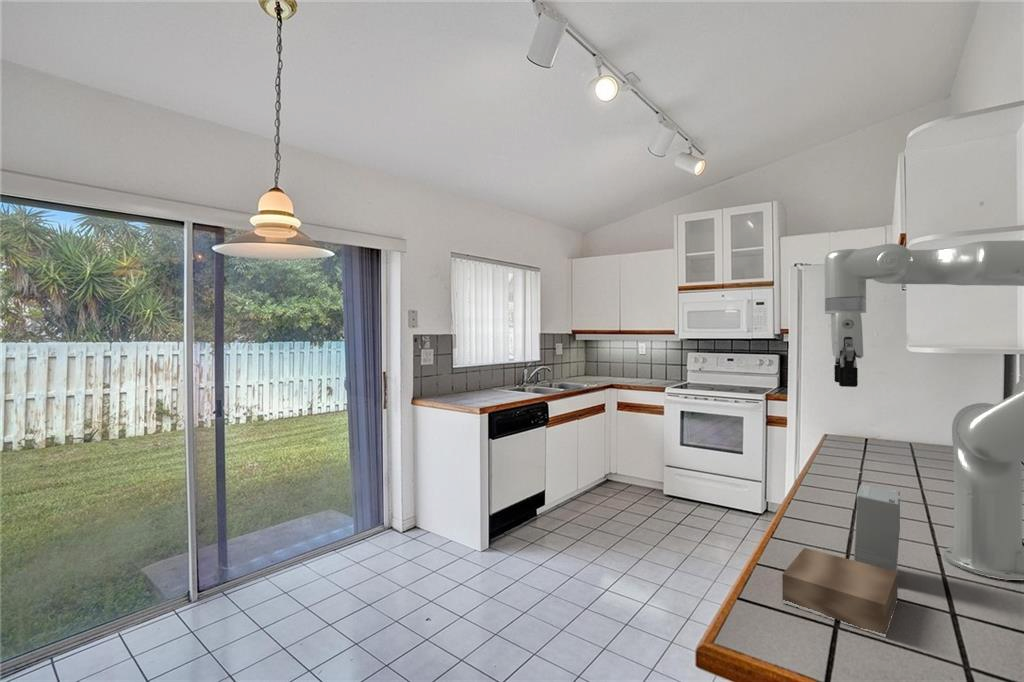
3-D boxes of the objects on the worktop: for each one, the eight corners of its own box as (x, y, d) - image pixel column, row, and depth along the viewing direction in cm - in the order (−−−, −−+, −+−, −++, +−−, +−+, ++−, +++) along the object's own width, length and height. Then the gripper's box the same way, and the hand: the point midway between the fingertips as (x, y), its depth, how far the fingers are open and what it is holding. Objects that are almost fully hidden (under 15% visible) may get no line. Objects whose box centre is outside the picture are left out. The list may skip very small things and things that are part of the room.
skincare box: (855, 560, 98) (855, 482, 98) (901, 571, 94) (901, 489, 94) (851, 577, 92) (851, 493, 92) (900, 589, 87) (900, 500, 87)
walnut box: (897, 600, 83) (897, 571, 83) (885, 638, 73) (885, 605, 73) (804, 573, 93) (804, 547, 93) (782, 603, 83) (782, 574, 83)
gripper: (872, 304, 98) (873, 389, 98) (860, 307, 113) (860, 381, 114) (828, 305, 102) (828, 387, 102) (821, 308, 117) (822, 380, 117)
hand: (845, 384), depth 108 cm, fingers open, 9 cm apart
